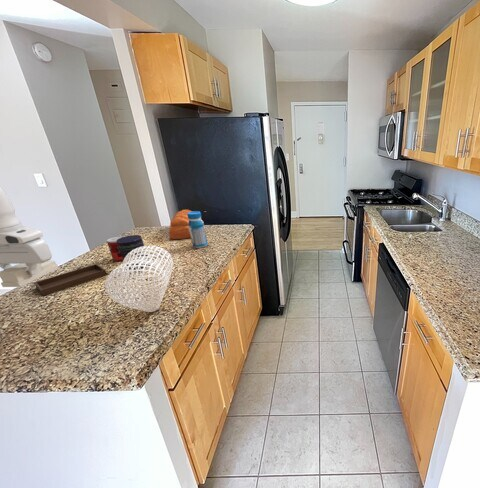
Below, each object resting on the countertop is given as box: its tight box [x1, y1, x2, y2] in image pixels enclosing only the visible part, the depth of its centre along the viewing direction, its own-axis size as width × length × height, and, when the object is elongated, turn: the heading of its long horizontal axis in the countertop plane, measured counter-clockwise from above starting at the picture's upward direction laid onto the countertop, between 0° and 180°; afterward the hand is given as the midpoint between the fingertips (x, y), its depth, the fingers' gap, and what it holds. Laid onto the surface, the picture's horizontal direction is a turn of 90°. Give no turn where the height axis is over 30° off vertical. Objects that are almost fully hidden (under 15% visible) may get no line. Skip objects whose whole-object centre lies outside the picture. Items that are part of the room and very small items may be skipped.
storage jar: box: [116, 234, 150, 271], centre depth 124 cm, size 10×10×15 cm
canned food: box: [106, 235, 124, 262], centre depth 134 cm, size 8×8×11 cm
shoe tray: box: [34, 263, 108, 297], centre depth 114 cm, size 21×11×3 cm, turn 146°
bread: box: [168, 209, 193, 240], centre depth 173 cm, size 16×31×13 cm, turn 19°
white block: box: [0, 260, 59, 288], centre depth 87 cm, size 13×6×5 cm, turn 1°
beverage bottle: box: [187, 210, 209, 249], centre depth 148 cm, size 8×8×20 cm
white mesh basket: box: [104, 245, 174, 313], centre depth 91 cm, size 28×16×22 cm, turn 18°
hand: (23, 274), depth 85 cm, fingers closed on white block, 5 cm apart
